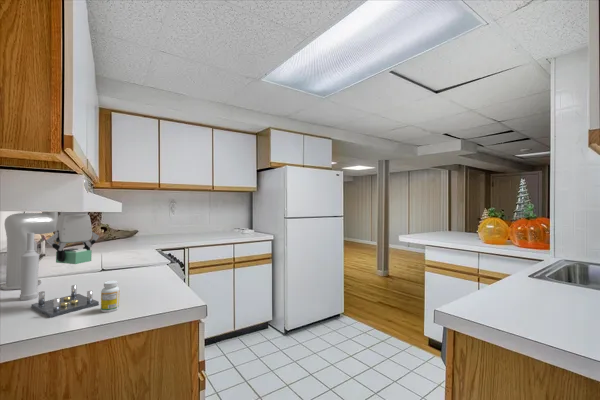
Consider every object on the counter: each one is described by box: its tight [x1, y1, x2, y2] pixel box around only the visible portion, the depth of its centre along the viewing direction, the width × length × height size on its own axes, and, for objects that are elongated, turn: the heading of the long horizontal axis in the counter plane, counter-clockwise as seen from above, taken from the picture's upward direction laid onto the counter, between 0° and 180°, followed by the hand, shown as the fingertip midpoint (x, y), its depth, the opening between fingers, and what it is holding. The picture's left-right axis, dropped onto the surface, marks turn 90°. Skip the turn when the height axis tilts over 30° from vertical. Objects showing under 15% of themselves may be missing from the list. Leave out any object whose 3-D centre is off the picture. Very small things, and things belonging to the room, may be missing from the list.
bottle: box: [19, 233, 40, 301], centre depth 110 cm, size 5×5×25 cm
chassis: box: [30, 284, 100, 319], centre depth 102 cm, size 16×14×5 cm
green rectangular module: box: [55, 247, 93, 265], centre depth 106 cm, size 9×6×5 cm, turn 76°
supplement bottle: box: [100, 280, 120, 313], centre depth 100 cm, size 5×5×10 cm
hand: (73, 259), depth 106 cm, fingers closed on green rectangular module, 7 cm apart
